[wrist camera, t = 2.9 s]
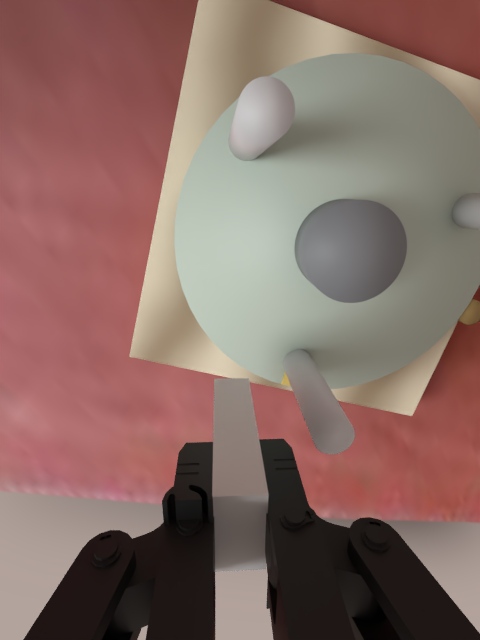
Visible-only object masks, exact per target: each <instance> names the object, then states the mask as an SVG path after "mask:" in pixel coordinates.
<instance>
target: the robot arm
mask: <svg viewBox="0 0 480 640" xmlns="http://www.w3.org/2000/svg"><path fill="white" fill-rule="evenodd" d="M162 505H163V517H164V523H163V524H162V525H161V526H160V527H158V528H157V529H155V530H154V531H152V532H150V533H147V534H145V535H142V536H139V537H136V538H133V539H132V538H131V537H130V536H129V535H128V534H127V533H125V532H122V531H120V530H116V531H115V530H113V531H112V530H110V531H107V532H104V533H101V534H99V535H97V536H95V537H94V538H93V539H91V540H90V541H89V542H88V543H87V544H86V545H85V546H84V547H83V549H82V550H81V552H80V553H79V555H78V556H77V558H76V559H75V561H74V562H73V564H72V565H71V567H70V568H69V570H68V572H67V573H66V575H65V576H64V578H63V580H62V581H61V582H60V584H59V586H58V587H57V589H56V590H55V592H54V593H53V595H52V597H51V598H50V600H49V601H48V603H47V604H46V606H45V607H44V609H43V610H42V612H41V613H40V615H39V617H38V618H37V619H36V621H35V623H34V624H33V626H32V627H31V629H30V630H29V632H28V633H27V635H26V636H25V638H24V640H137V638H138V636H139V633H140V631H141V628H142V627H144V626H147V625H148V629H147V636H146V640H215V572H219V571H239V570H258V569H266V564H267V572H268V589H267V609H268V608H270V614H271V622H272V630H273V639H274V640H480V634H479V632H478V631H477V630H476V629H475V627H474V626H473V625H472V624H471V623H470V621H469V620H468V619H467V618H466V616H465V615H464V614H463V613H462V611H460V609H459V608H458V607H457V605H456V604H455V603H454V602H453V600H452V599H451V598H450V597H449V595H448V594H447V593H446V592H445V591H444V589H443V588H442V587H441V586H440V585H439V583H438V582H437V581H436V580H435V578H434V577H433V576H432V575H431V573H430V572H429V571H428V570H427V568H426V567H425V566H424V565H423V563H422V562H421V561H420V560H419V559H418V557H417V556H416V555H415V554H414V552H413V551H412V550H411V549H410V548H409V546H408V545H407V544H406V543H405V541H404V540H403V539H402V538H401V536H400V535H399V534H398V533H397V532H396V531H395V530H394V529H393V528H392V527H391V526H390V525H388V524H386V523H385V522H383V521H381V520H378V519H374V518H370V517H369V518H360V519H358V520H356V521H354V522H353V524H352V525H351V527H350V528H347V527H343V526H339V525H334V524H332V523H329V522H326V521H325V520H323V519H321V518H319V517H318V516H317V515H316V513H315V512H314V510H313V509H311V508H310V506H309V504H308V502H307V498H306V495H305V492H304V488H303V485H302V481H301V478H300V474H299V471H298V469H297V464H296V461H295V457H294V454H293V451H292V448H291V447H290V446H289V444H288V443H287V442H286V441H285V440H284V439H263V440H259V436H258V430H257V424H256V418H255V412H254V406H253V400H252V394H251V389H250V383H249V378H235V379H214V426H213V442H200V443H186V444H185V445H184V447H183V448H182V449H181V451H180V452H179V456H178V462H177V469H176V475H175V482H174V487H172V488H171V489H170V490H169V491H168V492H167V493H166V494H165V496H164V498H163V500H162Z"/></svg>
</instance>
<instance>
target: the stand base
mask: <svg viewBox="0 0 480 640" xmlns="http://www.w3.org/2000/svg"><path fill="white" fill-rule="evenodd" d="M346 53H362V54H371V55H379V56H384V57H387V58H391V59H395V60H398V61H402V62H405V63H407V64H409V65H411V66H413V67H415V68H417V69H420V70H422V71H424V72H426V73H427V74H429V75H430V76H431V77H433V78H434V79H436V80H437V81H439V82H440V83H442V84H443V85H444V86H445V87H446V88H447V89H448V90H450V91H451V92H452V93H453V94H454V95H455V96H456V97H457V98H458V99H459V100H460V101H461V102H462V104H463V105H464V106H465V108H466V109H467V110H468V112H469V113H470V114H471V116H472V117H473V118H474V120H475V122H476V124H477V126H478V127H479V129H480V80H479V79H476V78H473V77H471V76H468V75H465V74H463V73H460V72H457V71H455V70H452V69H449V68H447V67H444V66H441V65H439V64H436V63H434V62H431V61H428V60H426V59H423V58H420V57H418V56H415V55H412V54H410V53H407V52H404V51H402V50H399V49H396V48H394V47H391V46H388V45H386V44H383V43H381V42H378V41H375V40H373V39H370V38H367V37H365V36H362V35H359V34H357V33H354V32H351V31H349V30H346V29H343V28H341V27H338V26H335V25H333V24H330V23H328V22H325V21H322V20H320V19H317V18H314V17H312V16H309V15H306V14H304V13H301V12H298V11H296V10H293V9H290V8H288V7H285V6H282V5H280V4H277V3H275V2H272V1H269V0H198V5H197V10H196V15H195V20H194V25H193V31H192V36H191V41H190V46H189V51H188V56H187V62H186V67H185V72H184V77H183V82H182V87H181V93H180V98H179V103H178V108H177V113H176V118H175V124H174V129H173V134H172V139H171V144H170V149H169V155H168V160H167V165H166V170H165V175H164V180H163V186H162V191H161V196H160V201H159V206H158V211H157V217H156V222H155V227H154V232H153V237H152V242H151V248H150V253H149V258H148V263H147V268H146V273H145V279H144V284H143V289H142V294H141V299H140V304H139V310H138V315H137V320H136V325H135V330H134V335H133V341H132V346H131V351H130V356H129V357H134V358H138V359H143V360H148V361H153V362H157V363H162V364H167V365H172V366H176V367H181V368H186V369H191V370H195V371H200V372H205V373H210V374H214V375H219V376H224V377H229V378H233V379H235V378H249V382H252V383H257V384H262V385H267V386H271V387H276V388H281V389H285V390H290V391H293V390H292V387H290V386H286V385H282V384H279V383H275V382H272V381H269V380H267V379H265V378H262V377H260V376H257V375H255V374H253V373H252V372H250V371H248V370H246V369H245V368H243V367H241V366H240V365H238V364H237V363H236V362H234V361H233V360H232V359H230V358H229V357H228V356H226V355H225V354H224V353H223V352H222V351H221V350H220V349H219V348H218V347H217V346H216V345H215V344H214V343H213V342H212V341H211V340H210V338H209V337H208V336H207V334H206V333H205V332H204V330H203V329H202V328H201V326H200V325H199V323H198V322H197V320H196V318H195V316H194V315H193V313H192V311H191V309H190V307H189V305H188V302H187V300H186V297H185V295H184V292H183V290H182V286H181V282H180V279H179V275H178V271H177V265H176V257H175V248H174V234H175V218H176V211H177V204H178V199H179V195H180V192H181V188H182V185H183V181H184V178H185V175H186V173H187V170H188V168H189V166H190V163H191V161H192V159H193V156H194V154H195V153H196V151H197V149H198V148H199V146H200V144H201V142H202V141H203V139H204V137H205V136H206V134H207V133H208V131H209V130H210V129H211V127H212V126H213V125H214V124H215V122H216V121H217V120H218V118H219V117H220V116H221V115H222V113H223V112H224V111H225V110H226V109H227V108H228V107H229V106H230V105H232V104H233V103H234V102H235V101H236V100H237V99H238V98H239V97H240V95H241V92H242V91H243V89H244V88H245V87H246V85H247V84H248V83H250V82H251V81H252V80H254V79H256V78H259V77H263V76H270V75H272V74H274V73H275V72H277V71H279V70H281V69H283V68H285V67H288V66H291V65H293V64H296V63H299V62H301V61H304V60H307V59H311V58H316V57H321V56H326V55H330V54H346ZM479 320H480V302H479V301H477V300H475V299H472V300H471V301H470V303H469V305H468V306H467V308H466V309H465V310H464V312H463V313H462V315H461V316H460V317H459V319H458V320H457V321H456V323H455V324H454V325H453V326H452V327H451V328H450V329H449V331H448V332H447V333H446V334H445V335H444V336H443V337H442V338H441V339H440V340H439V341H438V342H437V343H435V344H434V345H433V346H432V347H431V348H430V349H429V350H427V351H426V352H425V353H423V354H422V355H421V356H419V357H418V358H417V359H415V360H414V361H412V362H411V363H409V364H407V365H406V366H404V367H402V368H400V369H399V370H397V371H395V372H393V373H390V374H388V375H386V376H384V377H382V378H379V379H376V380H373V381H370V382H367V383H364V384H360V385H356V386H351V387H346V388H338V389H331V391H332V393H333V394H334V396H335V398H336V399H337V400H338V401H342V402H347V403H352V404H357V405H361V406H366V407H371V408H376V409H380V410H385V411H390V412H395V413H399V414H404V415H409V416H412V415H413V413H414V411H415V409H416V407H417V405H418V403H419V401H420V399H421V397H422V395H423V393H424V390H425V388H426V386H427V384H428V382H429V380H430V378H431V376H432V374H433V372H434V370H435V368H436V366H437V364H438V362H439V360H440V357H441V355H442V353H443V351H444V349H445V347H446V345H447V343H448V341H449V339H450V337H451V335H452V333H453V331H454V329H455V327H456V325H457V322H458V321H460V322H462V323H464V324H466V325H472V324H475V323H477V322H478V321H479Z"/></svg>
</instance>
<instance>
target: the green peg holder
mask: <svg viewBox="0 0 480 640" xmlns="http://www.w3.org/2000/svg"><path fill="white" fill-rule="evenodd" d="M174 248H175V257H176V265H177V271H178V275H179V279H180V282H181V286H182V290H183V292H184V295H185V297H186V300H187V302H188V305H189V307H190V309H191V311H192V313H193V315H194V316H195V318H196V320H197V322H198V323H199V325H200V326H201V328H202V329H203V330H204V332H205V333H206V334H207V336H208V337H209V338H210V340H211V341H212V342H213V343H214V344H215V345H216V346H217V347H218V348H219V349H220V350H221V351H222V352H223V353H224V354H225V355H226V356H228V357H229V358H230V359H232V360H233V361H234V362H236V363H237V364H238V365H240V366H241V367H243V368H245V369H246V370H248V371H250V372H252V373H253V374H255V375H257V376H260V377H262V378H265V379H267V380H269V381H272V382H275V383H279V384H282V385H286V386H290V387H292V390H293V392H294V395H295V397H296V400H297V402H298V405H299V407H300V410H301V412H302V415H303V417H304V420H305V422H306V425H307V427H308V429H309V432H310V434H311V437H312V439H313V442H314V444H315V446H316V448H317V449H318V450H319V451H321V452H323V453H325V454H338V453H341V452H343V451H345V450H346V449H348V448H349V447H350V446H351V444H352V443H353V441H354V438H355V431H354V428H353V426H352V424H351V423H350V421H349V419H348V418H347V416H346V414H345V413H344V411H343V409H342V408H341V406H340V404H339V403H338V401H337V399H336V398H335V396H334V394H333V393H332V391H331V389H338V388H346V387H351V386H356V385H360V384H364V383H367V382H370V381H373V380H376V379H379V378H382V377H384V376H386V375H388V374H390V373H393V372H395V371H397V370H399V369H400V368H402V367H404V366H406V365H407V364H409V363H411V362H412V361H414V360H415V359H417V358H418V357H419V356H421V355H422V354H423V353H425V352H426V351H427V350H429V349H430V348H431V347H432V346H433V345H434V344H435V343H437V342H438V341H439V340H440V339H441V338H442V337H443V336H444V335H445V334H446V333H447V332H448V331H449V329H450V328H451V327H452V326H453V325H454V324H455V323H456V321H457V320H458V319H459V317H460V316H461V315H462V313H463V312H464V310H465V309H466V308H467V306H468V305H469V303H470V301H471V300H472V298H473V296H474V294H475V293H476V291H477V289H478V287H479V285H480V129H479V127H478V126H477V124H476V122H475V120H474V118H473V117H472V116H471V114H470V113H469V112H468V110H467V109H466V108H465V106H464V105H463V104H462V102H461V101H460V100H459V99H458V98H457V97H456V96H455V95H454V94H453V93H452V92H451V91H450V90H448V89H447V88H446V87H445V86H444V85H443V84H442V83H440V82H439V81H437V80H436V79H434V78H433V77H431V76H430V75H429V74H427V73H426V72H424V71H422V70H420V69H417V68H415V67H413V66H411V65H409V64H407V63H405V62H402V61H398V60H395V59H391V58H387V57H384V56H379V55H371V54H362V53H346V54H330V55H326V56H321V57H316V58H311V59H307V60H304V61H301V62H299V63H296V64H293V65H291V66H288V67H285V68H283V69H281V70H279V71H277V72H275V73H274V74H272V75H270V76H263V77H259V78H256V79H254V80H252V81H251V82H250V83H248V84H247V85H246V87H245V88H244V89H243V91H242V92H241V95H240V97H239V98H238V99H237V100H236V101H235V102H234V103H233V104H232V105H230V106H229V107H228V108H227V109H226V110H225V111H224V112H223V113H222V115H221V116H220V117H219V118H218V120H217V121H216V122H215V124H214V125H213V126H212V127H211V129H210V130H209V131H208V133H207V134H206V136H205V137H204V139H203V141H202V142H201V144H200V146H199V148H198V149H197V151H196V153H195V154H194V156H193V159H192V161H191V163H190V166H189V168H188V170H187V173H186V175H185V178H184V181H183V185H182V188H181V192H180V195H179V199H178V204H177V211H176V218H175V234H174Z"/></svg>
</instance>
